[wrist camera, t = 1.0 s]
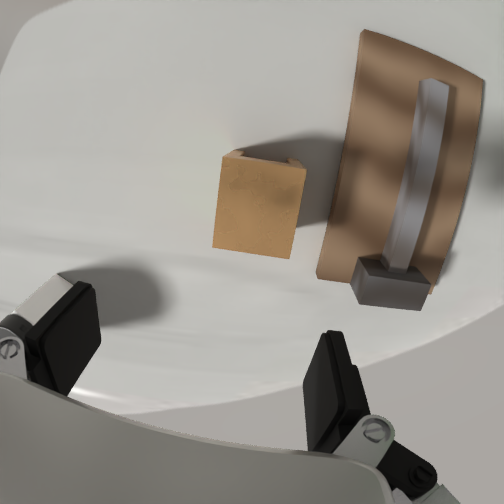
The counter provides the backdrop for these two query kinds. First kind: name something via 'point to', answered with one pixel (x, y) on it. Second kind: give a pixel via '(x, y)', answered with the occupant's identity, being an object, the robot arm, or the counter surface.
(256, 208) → the wooden block
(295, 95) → the counter surface
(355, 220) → the rail board
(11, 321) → the jar
